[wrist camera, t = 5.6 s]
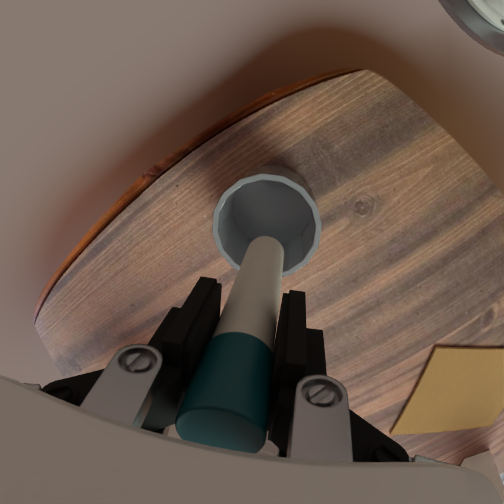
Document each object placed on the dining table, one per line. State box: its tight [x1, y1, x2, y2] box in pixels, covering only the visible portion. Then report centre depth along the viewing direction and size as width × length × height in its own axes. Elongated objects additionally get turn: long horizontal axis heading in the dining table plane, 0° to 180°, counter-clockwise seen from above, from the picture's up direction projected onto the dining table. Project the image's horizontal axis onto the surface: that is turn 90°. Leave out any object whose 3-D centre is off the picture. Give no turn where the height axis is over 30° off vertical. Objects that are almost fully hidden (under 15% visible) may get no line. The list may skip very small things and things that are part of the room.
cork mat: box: [390, 346, 504, 435], centre depth 34 cm, size 16×20×1 cm
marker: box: [175, 236, 284, 454], centre depth 12 cm, size 2×2×12 cm
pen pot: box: [212, 165, 322, 277], centre depth 26 cm, size 8×8×7 cm
